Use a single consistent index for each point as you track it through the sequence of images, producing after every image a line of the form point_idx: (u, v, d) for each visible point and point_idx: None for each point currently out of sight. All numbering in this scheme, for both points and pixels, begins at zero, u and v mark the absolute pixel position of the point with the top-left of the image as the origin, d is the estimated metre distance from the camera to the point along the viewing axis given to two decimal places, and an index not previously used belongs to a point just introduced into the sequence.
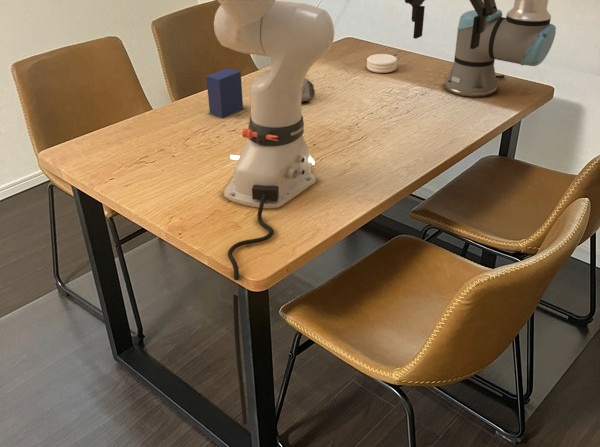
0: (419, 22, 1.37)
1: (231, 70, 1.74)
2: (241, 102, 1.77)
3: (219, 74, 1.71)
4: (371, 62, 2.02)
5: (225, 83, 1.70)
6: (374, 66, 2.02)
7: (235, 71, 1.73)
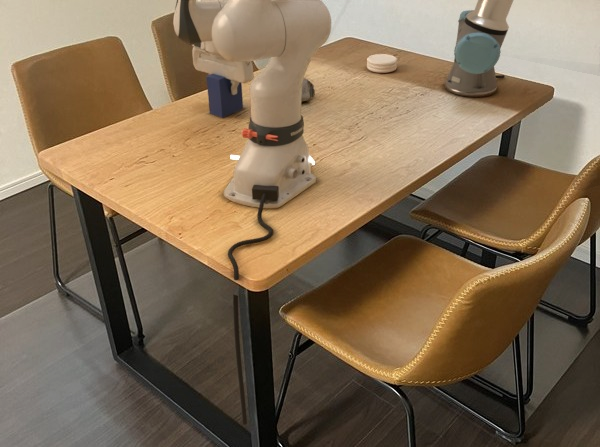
0: None
1: None
2: (241, 102, 1.77)
3: None
4: (371, 62, 2.02)
5: (225, 83, 1.70)
6: (374, 66, 2.02)
7: None
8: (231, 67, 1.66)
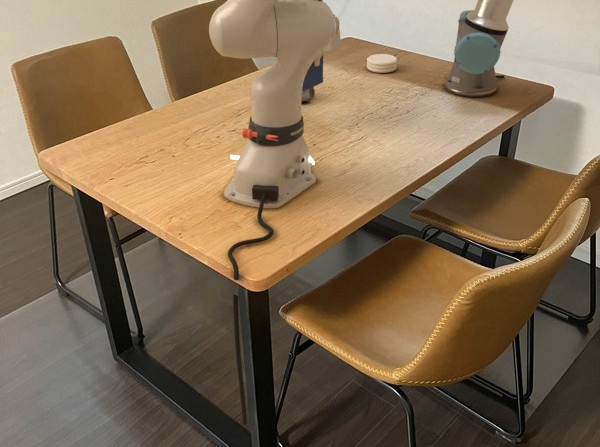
0: None
1: None
2: (321, 75, 1.66)
3: None
4: (371, 62, 2.02)
5: None
6: (374, 66, 2.02)
7: None
8: None
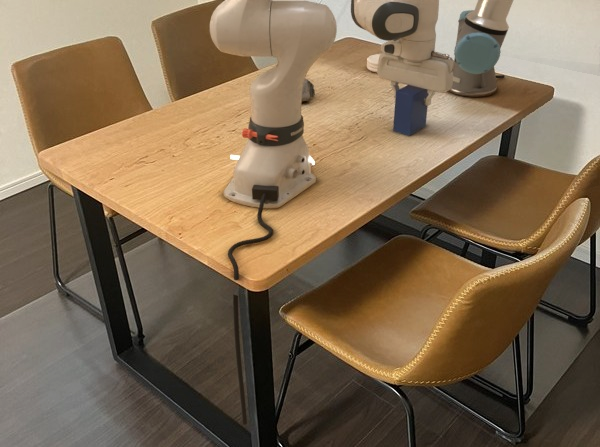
0: None
1: None
2: (425, 119, 1.65)
3: (409, 89, 1.59)
4: (371, 62, 2.02)
5: (417, 99, 1.58)
6: (374, 66, 2.02)
7: None
8: (428, 75, 1.53)
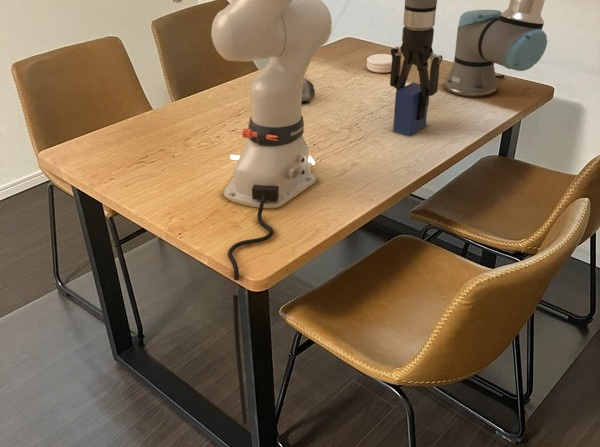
0: None
1: (419, 85, 1.62)
2: (425, 119, 1.65)
3: (409, 89, 1.59)
4: (371, 62, 2.02)
5: (417, 99, 1.58)
6: (374, 66, 2.02)
7: None
8: None
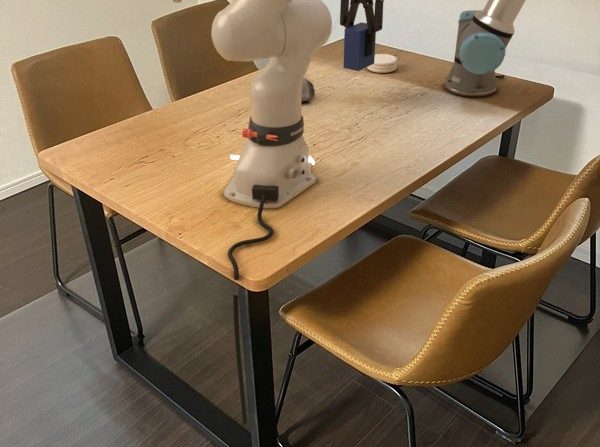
0: None
1: (366, 24, 1.75)
2: (373, 56, 1.79)
3: (356, 27, 1.72)
4: None
5: (364, 36, 1.71)
6: (374, 66, 2.02)
7: None
8: None
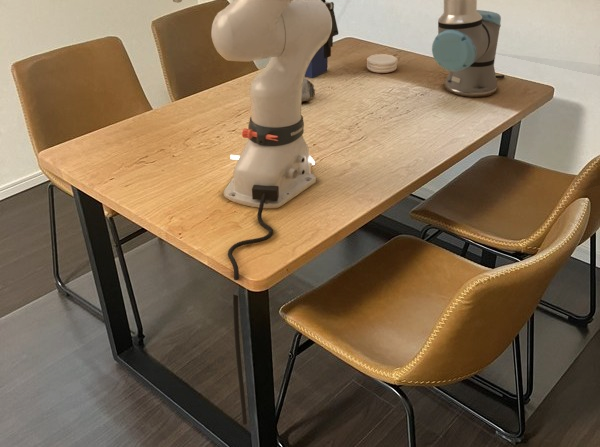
0: None
1: None
2: (326, 65, 2.04)
3: None
4: (371, 62, 2.02)
5: None
6: (374, 66, 2.02)
7: None
8: None
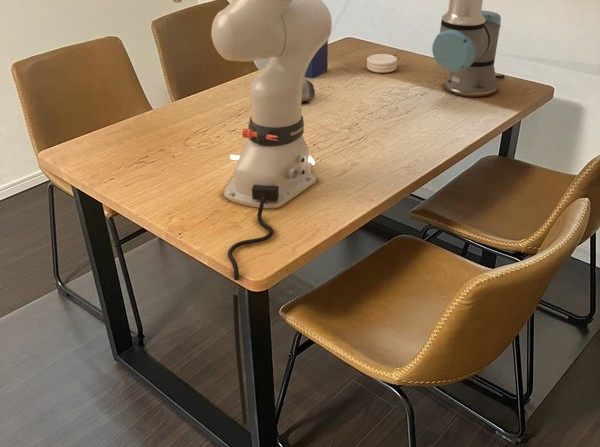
0: None
1: None
2: (326, 65, 2.04)
3: None
4: (371, 62, 2.02)
5: None
6: (374, 66, 2.02)
7: None
8: None
